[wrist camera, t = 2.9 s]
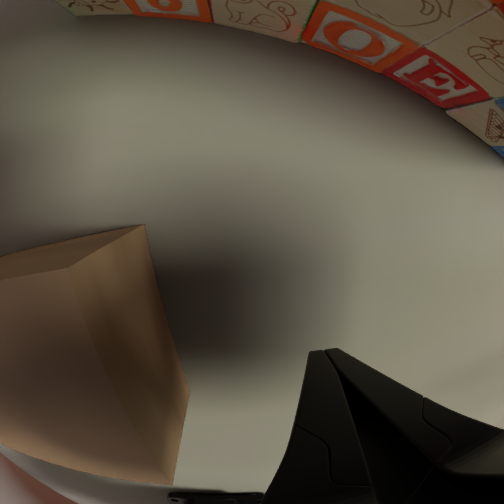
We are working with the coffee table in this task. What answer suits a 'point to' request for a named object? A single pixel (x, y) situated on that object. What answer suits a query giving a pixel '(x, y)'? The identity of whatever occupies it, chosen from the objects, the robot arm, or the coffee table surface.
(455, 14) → the stack of blocks
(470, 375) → the coffee table surface
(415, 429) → the robot arm
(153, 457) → the walnut brick
